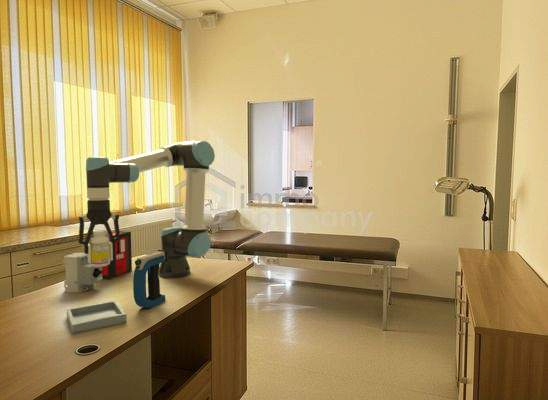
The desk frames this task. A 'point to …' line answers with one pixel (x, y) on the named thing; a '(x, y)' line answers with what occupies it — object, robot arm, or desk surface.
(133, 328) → the desk surface
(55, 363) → the desk surface
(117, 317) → the tray
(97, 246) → the supplement bottle
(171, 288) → the desk surface
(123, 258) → the cleaning product box
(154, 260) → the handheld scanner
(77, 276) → the circuit breaker
